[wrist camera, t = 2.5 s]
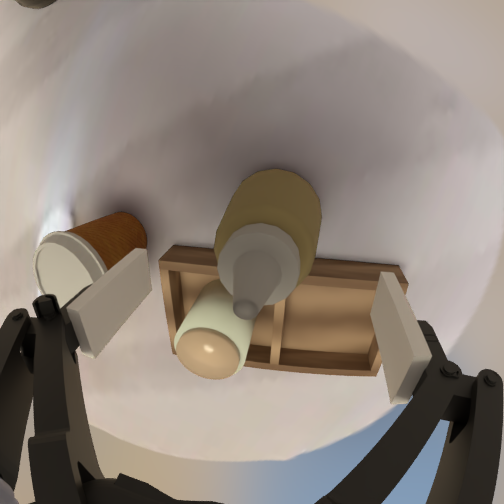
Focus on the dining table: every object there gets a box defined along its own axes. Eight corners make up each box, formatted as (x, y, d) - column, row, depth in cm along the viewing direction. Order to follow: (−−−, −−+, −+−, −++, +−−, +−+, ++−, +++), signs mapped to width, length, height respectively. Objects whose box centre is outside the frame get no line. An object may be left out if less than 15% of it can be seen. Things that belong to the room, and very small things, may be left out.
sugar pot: (196, 275, 33) (166, 322, 26) (259, 282, 32) (244, 334, 25) (200, 325, 36) (176, 375, 28) (257, 332, 35) (243, 387, 28)
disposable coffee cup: (110, 182, 32) (38, 216, 21) (173, 230, 33) (116, 284, 22) (86, 241, 36) (25, 286, 25) (140, 285, 37) (89, 344, 26)
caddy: (173, 245, 34) (158, 260, 30) (398, 265, 30) (408, 283, 26) (183, 334, 39) (172, 354, 35) (371, 354, 35) (376, 376, 32)
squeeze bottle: (316, 243, 31) (323, 377, 15) (239, 239, 32) (175, 360, 16) (321, 165, 27) (348, 229, 11) (237, 162, 29) (150, 220, 12)
